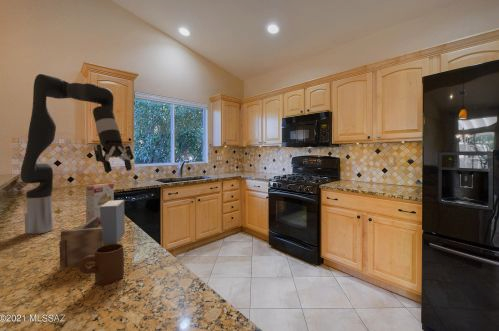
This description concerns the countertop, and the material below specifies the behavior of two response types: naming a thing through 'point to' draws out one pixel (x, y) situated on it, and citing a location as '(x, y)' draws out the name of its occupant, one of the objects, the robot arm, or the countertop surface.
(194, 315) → the countertop surface
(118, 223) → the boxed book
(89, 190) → the cracker box
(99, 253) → the mug
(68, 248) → the shelf corner
